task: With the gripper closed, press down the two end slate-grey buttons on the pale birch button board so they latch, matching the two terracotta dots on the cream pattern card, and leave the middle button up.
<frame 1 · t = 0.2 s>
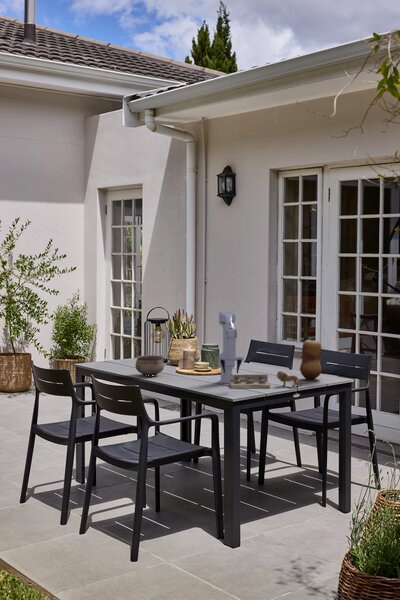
hand: (230, 372, 463), 10 cm above the table, tool pointing down, fingers open, 7 cm apart
button end b: (262, 381, 476), point 3 cm above the table, slide at 0.0 cm
lion figurine: (288, 386, 476), on the table
button board: (249, 386, 476), on the table
butternut squash: (310, 379, 502), on the table
brown footed bowl: (149, 375, 518), on the table
button middle: (249, 381, 476), point 3 cm above the table, slide at 0.0 cm
button end a: (237, 381, 476), point 3 cm above the table, slide at 0.0 cm
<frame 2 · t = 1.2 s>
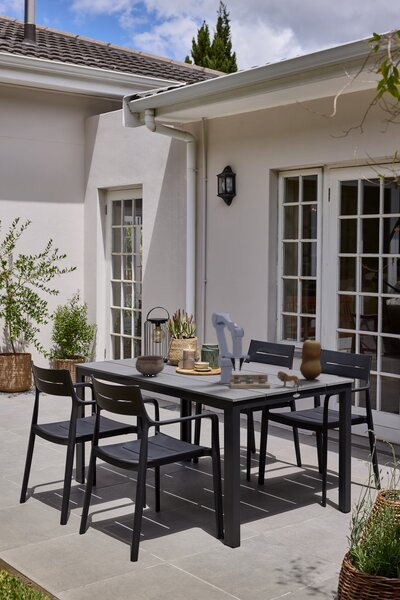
hand: (237, 370, 475), 9 cm above the table, tool pointing down, fingers open, 3 cm apart
nothing on the table moved.
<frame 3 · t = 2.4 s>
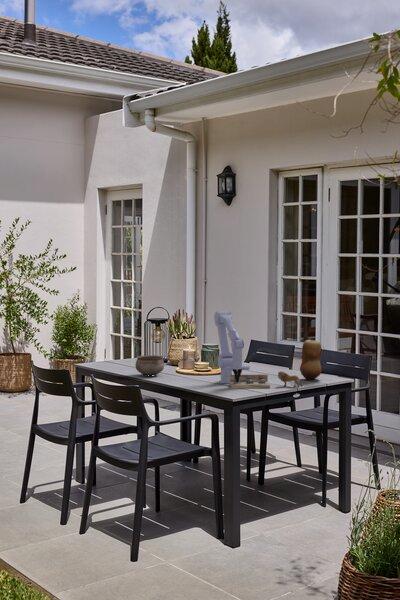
hand: (237, 382, 476), 3 cm above the table, tool pointing down, fingers closed, pressing on button end a
button end a: (237, 383, 476), point 2 cm above the table, slide at 1.1 cm, touching gripper
everything else where it was.
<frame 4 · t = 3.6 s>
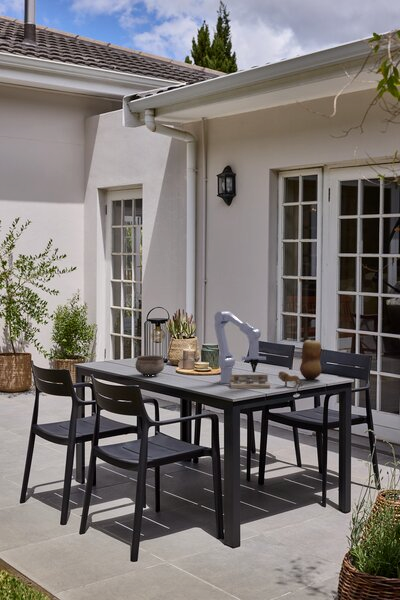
hand: (253, 372, 475), 9 cm above the table, tool pointing down, fingers closed
button end a: (237, 383, 476), point 2 cm above the table, slide at 1.1 cm
everything else where it was.
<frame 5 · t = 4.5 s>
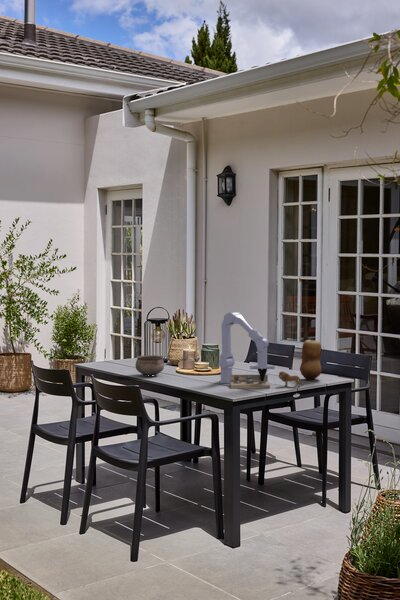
hand: (262, 381, 476), 3 cm above the table, tool pointing down, fingers closed, pressing on button end b
button end b: (262, 382, 476), point 2 cm above the table, slide at 0.7 cm, touching gripper
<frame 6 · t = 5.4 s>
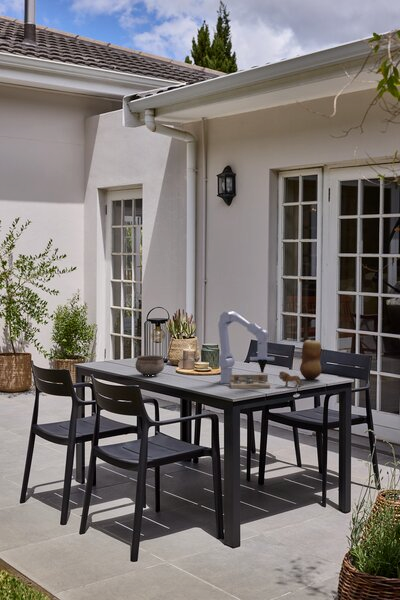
hand: (262, 372, 476), 8 cm above the table, tool pointing down, fingers closed
button end b: (262, 383, 476), point 2 cm above the table, slide at 1.1 cm
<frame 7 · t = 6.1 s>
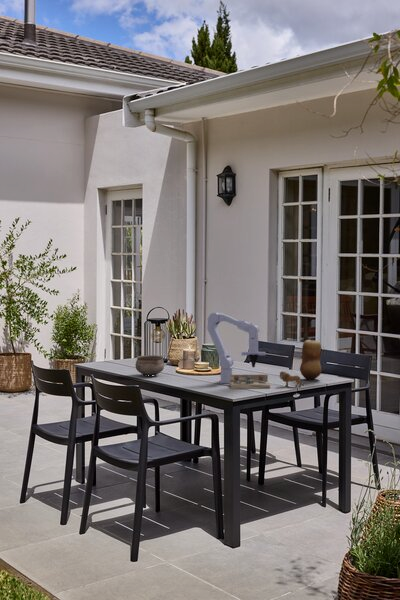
hand: (253, 367, 483), 10 cm above the table, tool pointing down, fingers closed
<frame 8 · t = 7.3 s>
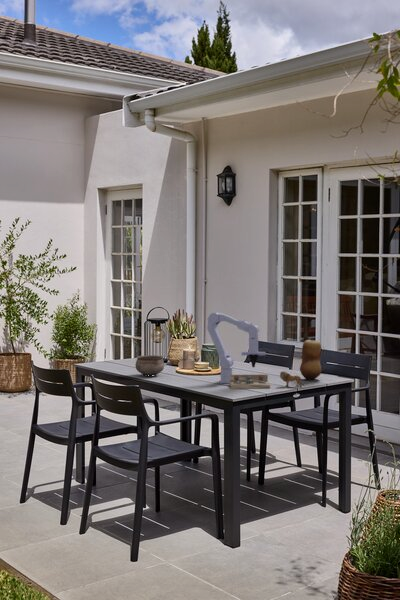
hand: (253, 367, 483), 10 cm above the table, tool pointing down, fingers closed
at the end: button end a slide at 1.1 cm; button end b slide at 1.1 cm; button middle slide at 0.0 cm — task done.
